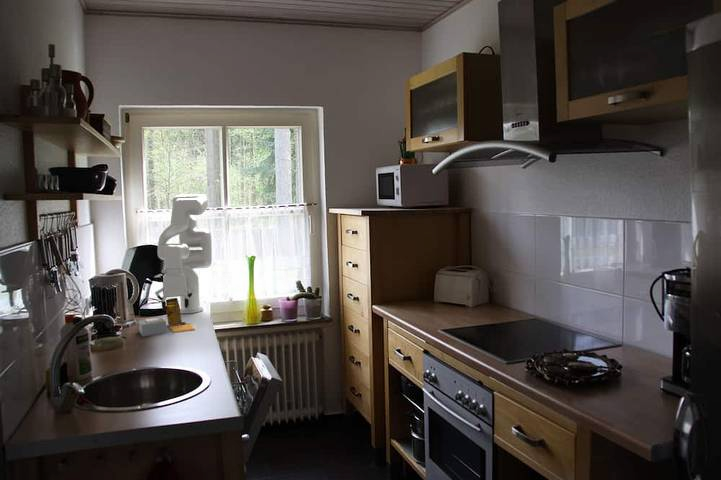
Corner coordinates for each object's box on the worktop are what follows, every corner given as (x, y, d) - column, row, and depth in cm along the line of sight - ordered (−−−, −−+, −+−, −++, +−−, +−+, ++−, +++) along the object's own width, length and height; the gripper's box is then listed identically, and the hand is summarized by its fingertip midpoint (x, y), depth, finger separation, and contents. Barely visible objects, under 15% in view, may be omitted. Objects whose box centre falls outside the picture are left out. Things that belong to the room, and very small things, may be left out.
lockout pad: (169, 327, 272) (169, 326, 272) (189, 325, 276) (189, 324, 276) (174, 332, 262) (174, 331, 262) (194, 329, 266) (194, 328, 266)
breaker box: (139, 331, 266) (138, 319, 266) (162, 328, 271) (162, 316, 270) (142, 336, 257) (141, 323, 257) (166, 333, 262) (165, 320, 261)
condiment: (164, 326, 275) (160, 300, 275) (175, 322, 283) (171, 297, 283) (177, 325, 273) (174, 299, 272) (188, 321, 281) (185, 296, 280)
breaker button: (145, 328, 265) (145, 319, 265) (157, 326, 267) (157, 317, 267) (147, 330, 260) (146, 321, 260) (159, 328, 263) (158, 319, 262)
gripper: (155, 273, 269) (157, 311, 270) (194, 271, 277) (196, 307, 277) (152, 272, 275) (154, 309, 276) (191, 269, 283) (192, 305, 284)
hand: (175, 308), depth 277 cm, fingers open, 9 cm apart
